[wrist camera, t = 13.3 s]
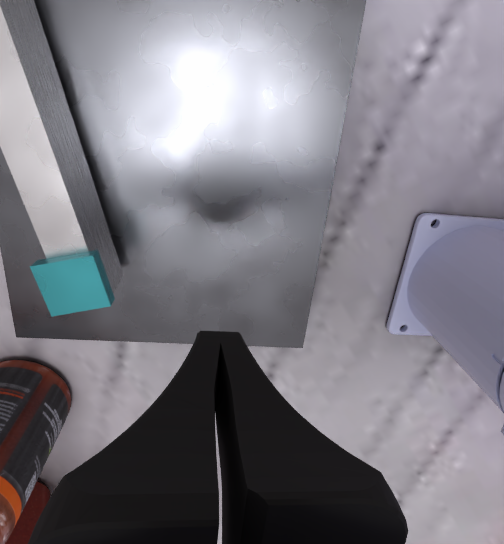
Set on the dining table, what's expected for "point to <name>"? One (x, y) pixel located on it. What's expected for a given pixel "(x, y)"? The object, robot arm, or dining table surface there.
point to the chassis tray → (196, 162)
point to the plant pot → (30, 515)
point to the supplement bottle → (26, 432)
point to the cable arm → (52, 170)
